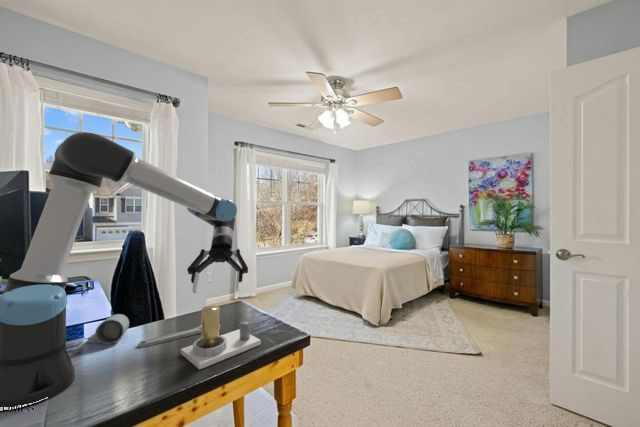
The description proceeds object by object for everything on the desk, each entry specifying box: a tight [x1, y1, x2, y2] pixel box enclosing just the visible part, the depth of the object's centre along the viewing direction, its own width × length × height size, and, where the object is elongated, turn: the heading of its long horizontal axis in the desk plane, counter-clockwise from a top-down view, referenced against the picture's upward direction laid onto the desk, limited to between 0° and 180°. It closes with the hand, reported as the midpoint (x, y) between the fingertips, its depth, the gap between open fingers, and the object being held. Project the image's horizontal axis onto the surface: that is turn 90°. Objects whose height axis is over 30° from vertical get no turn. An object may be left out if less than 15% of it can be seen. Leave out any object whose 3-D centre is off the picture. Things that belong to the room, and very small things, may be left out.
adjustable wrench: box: [137, 323, 221, 349], centre depth 97 cm, size 25×6×2 cm, turn 125°
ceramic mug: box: [87, 313, 130, 345], centre depth 93 cm, size 11×8×8 cm
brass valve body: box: [199, 305, 221, 348], centre depth 85 cm, size 6×6×12 cm
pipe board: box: [180, 320, 262, 370], centre depth 88 cm, size 20×12×6 cm, turn 138°
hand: (215, 290), depth 96 cm, fingers open, 13 cm apart
